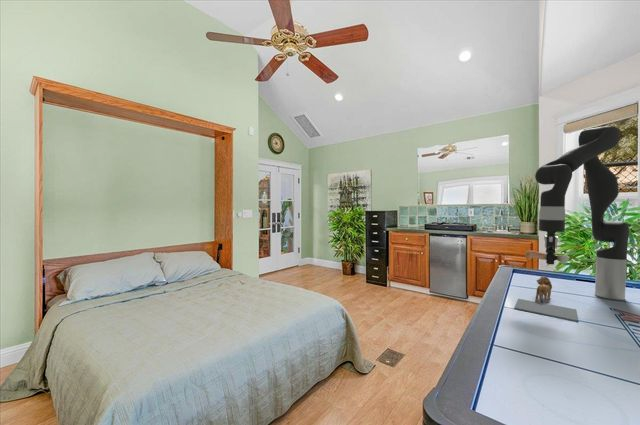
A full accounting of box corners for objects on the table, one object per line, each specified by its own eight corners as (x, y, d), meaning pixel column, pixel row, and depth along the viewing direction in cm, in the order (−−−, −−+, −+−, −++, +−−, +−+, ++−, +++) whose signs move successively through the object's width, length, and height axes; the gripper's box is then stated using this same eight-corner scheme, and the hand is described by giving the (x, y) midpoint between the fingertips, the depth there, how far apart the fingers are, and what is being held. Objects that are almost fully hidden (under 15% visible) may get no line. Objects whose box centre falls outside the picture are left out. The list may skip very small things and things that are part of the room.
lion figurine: (536, 294, 125) (536, 274, 125) (551, 297, 121) (552, 276, 121) (534, 303, 114) (535, 281, 113) (551, 306, 110) (552, 283, 110)
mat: (518, 299, 117) (518, 298, 117) (576, 310, 105) (576, 309, 105) (514, 308, 106) (514, 307, 106) (578, 322, 95) (578, 320, 95)
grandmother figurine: (526, 247, 112) (568, 251, 104) (526, 256, 113) (568, 261, 105) (525, 252, 107) (569, 256, 98) (524, 262, 107) (569, 267, 99)
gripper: (565, 219, 97) (564, 267, 97) (564, 218, 108) (563, 261, 108) (538, 218, 101) (536, 264, 102) (539, 217, 112) (538, 258, 113)
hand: (550, 262), depth 105 cm, fingers closed on grandmother figurine, 7 cm apart
